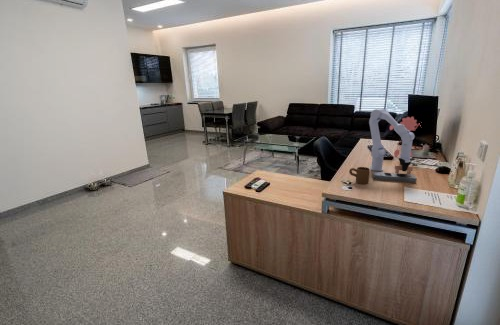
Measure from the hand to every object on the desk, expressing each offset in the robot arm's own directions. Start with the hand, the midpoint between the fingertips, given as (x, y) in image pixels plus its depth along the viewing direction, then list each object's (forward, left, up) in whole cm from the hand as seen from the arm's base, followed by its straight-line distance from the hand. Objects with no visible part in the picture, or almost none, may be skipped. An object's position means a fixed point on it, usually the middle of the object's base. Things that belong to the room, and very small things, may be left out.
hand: (403, 169), depth 171 cm
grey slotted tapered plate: (+10, -7, -4) cm, 13 cm away
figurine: (-50, +10, -4) cm, 51 cm away
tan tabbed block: (0, 0, -4) cm, 4 cm away
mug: (+22, -29, -4) cm, 37 cm away
